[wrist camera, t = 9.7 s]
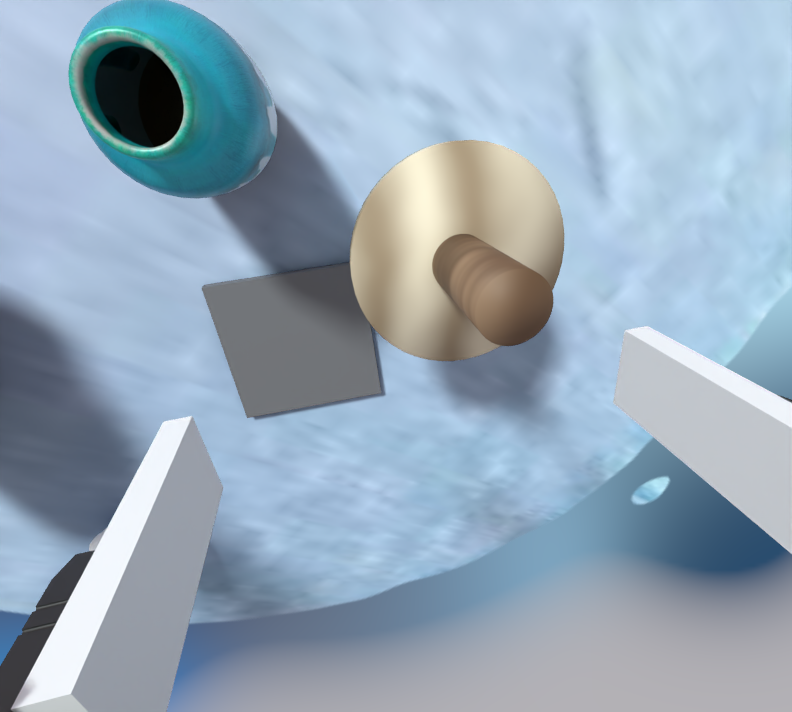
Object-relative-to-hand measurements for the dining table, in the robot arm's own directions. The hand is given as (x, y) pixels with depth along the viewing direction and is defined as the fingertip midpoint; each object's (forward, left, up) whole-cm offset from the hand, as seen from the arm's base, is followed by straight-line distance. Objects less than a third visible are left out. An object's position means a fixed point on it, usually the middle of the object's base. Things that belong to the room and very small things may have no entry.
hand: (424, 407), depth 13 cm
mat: (-8, -12, -33) cm, 36 cm away
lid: (+6, -1, -18) cm, 19 cm away
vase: (-10, +10, -33) cm, 36 cm away
